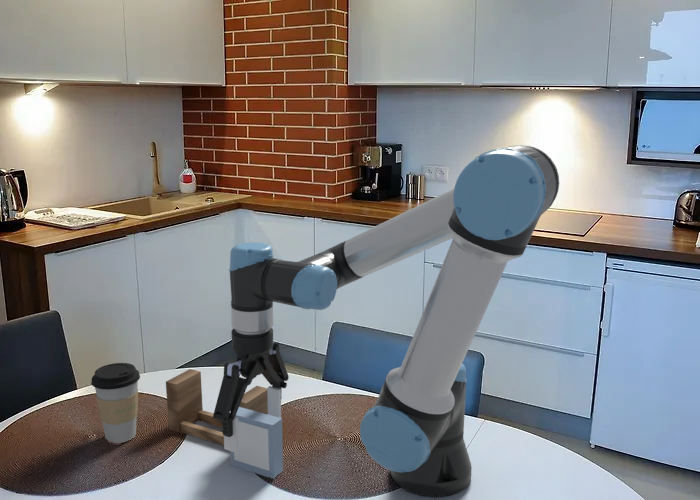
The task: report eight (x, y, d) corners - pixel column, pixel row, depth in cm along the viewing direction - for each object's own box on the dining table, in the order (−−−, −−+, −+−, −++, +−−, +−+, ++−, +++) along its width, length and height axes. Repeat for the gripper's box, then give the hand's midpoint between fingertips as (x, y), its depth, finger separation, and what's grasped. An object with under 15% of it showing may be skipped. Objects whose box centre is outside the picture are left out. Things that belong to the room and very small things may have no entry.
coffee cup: (129, 451, 130) (123, 381, 126) (87, 446, 132) (80, 377, 128) (152, 428, 139) (147, 363, 135) (112, 424, 141) (107, 359, 137)
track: (270, 437, 135) (268, 388, 133) (248, 454, 129) (246, 403, 126) (192, 414, 145) (190, 368, 142) (168, 429, 138) (165, 381, 136)
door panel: (283, 471, 123) (282, 418, 121) (273, 479, 120) (272, 425, 118) (240, 457, 128) (238, 406, 125) (230, 465, 125) (228, 413, 122)
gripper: (274, 305, 130) (275, 402, 135) (189, 345, 109) (194, 459, 114) (306, 312, 127) (305, 411, 132) (225, 354, 105) (228, 471, 110)
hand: (254, 433), depth 123 cm, fingers open, 13 cm apart
